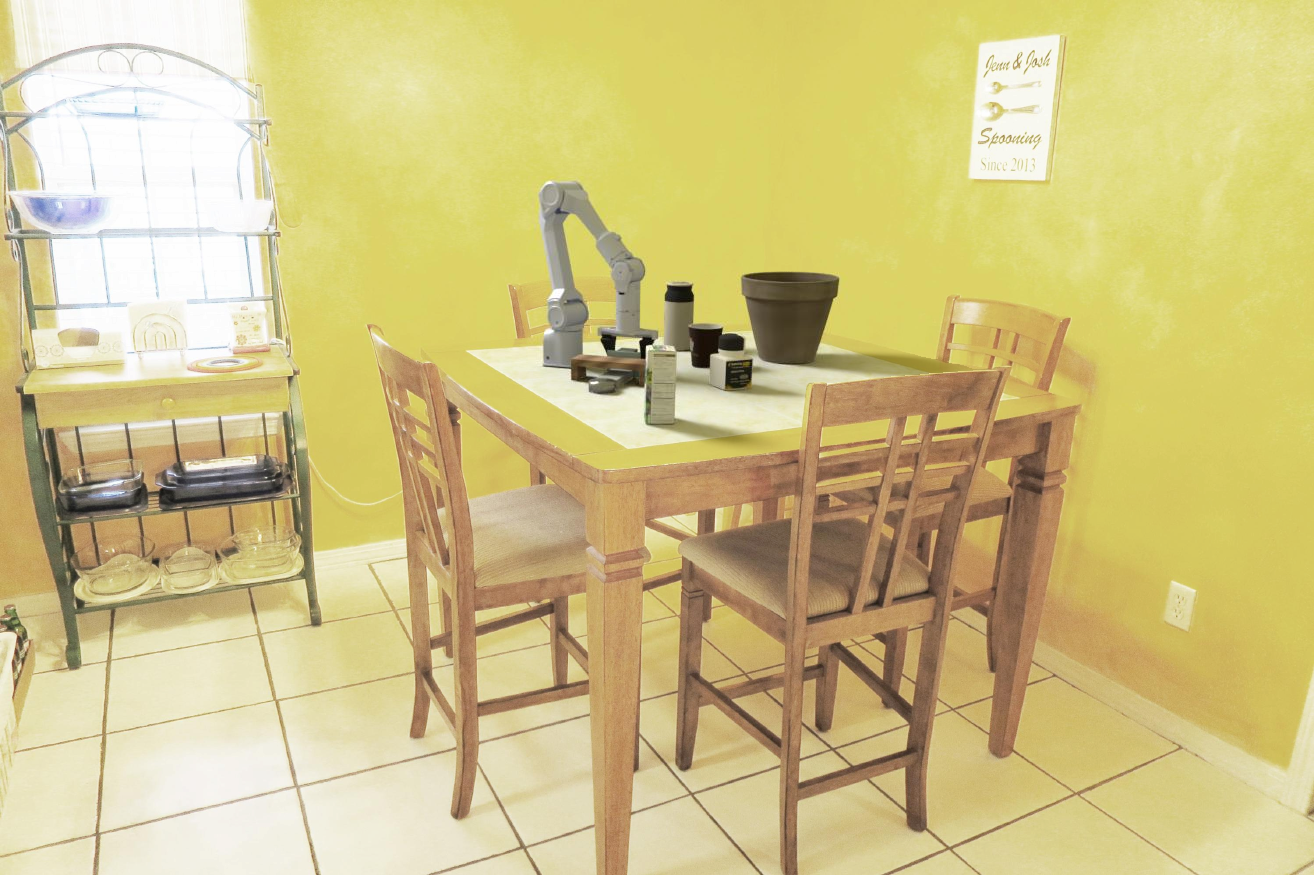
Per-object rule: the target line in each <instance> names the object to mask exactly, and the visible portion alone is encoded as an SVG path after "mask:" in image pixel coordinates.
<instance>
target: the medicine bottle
mask: <svg viewBox="0 0 1314 875" xmlns="http://www.w3.org/2000/svg"><path fill="white" fill-rule="evenodd" d="M746 341H747V340H746V336H745V335H743V334H741V333H735V332H732V333H731V332H727V333H722V335H720V336H719V346H718V352H719V354H711V355H710V368H709V382H708V383H709V385H710V386H713V387H715V388H718V389H721V390H722V391H726V392H727V391H728V392H729V391H736V390H737V391H738V390H746V389H751V388H752V381H753V365H754V364H753V363H754V358H753V357H752V356H749V355H747V354H745V353H746V343H747V342H746Z"/></svg>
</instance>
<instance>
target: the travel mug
mask: <svg viewBox="0 0 1314 875" xmlns="http://www.w3.org/2000/svg"><path fill="white" fill-rule="evenodd" d="M665 285H666V288H667V289H666V291H665V294H664V306H663V307H664V310H663V311H664V312H663V345H668V346H674V347H675V349H676V351H677V352H684V351H685V352H686V351H691V349H690V337H689V325H690V324H694V316H695V315H694V311H695V310H694V309H695V306H694V305H695V293H694V292H693V286H694V282H692V281H686V280H683V281H682V280H673V281H672V280H671V281H667V282H665Z"/></svg>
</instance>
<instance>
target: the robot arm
mask: <svg viewBox="0 0 1314 875" xmlns="http://www.w3.org/2000/svg"><path fill="white" fill-rule="evenodd" d="M537 194H538V201H539V206H540V207H539V214H538V222H539V226H540V227H539V228H540V232H541V238H542V243H543V248H544V253H545V260H546V264H547V269H548V275H549V279H550V284H551V290H552V292H551V294H550V296H549V297H548V298H547V300H546V302H547V303H546V304H547V311H546V319H547V323H548V324H549V326H550V327H551V328H549V327H548V328H546V329H545V331H544V333H543V336H542V337H543V338H542V354H543V355H542V359H543V360H542V361H543V362H542V364H541V365H542V366H547V367H559V368H570V369H571V359H572V358H574V357H576V356H578V355H580V354H584V347H583V345H584V340H583V339H584V338H583V337H584V332H583V331H584V328H585V324H586V323H587V321H588V319H589V316H590V315H589V314H590V312H589V308H588V306H587V304H586V303H585V301H584V296H583V294H582V293H581V292H580V291H579V290H578V289H577V287H576V286H575V281H574V276H573V271H572V265H571V260H570V254H569V249H568V245H567V238H566V233H565V227H564V222H566V219H567V218H568V216H570V215H575V216H576V217H577V218H578V219H579V220H580V222H581V223H582V224H583V226H585V228H586V229H587V230H588V232H590V234H591V235H592V236H593V238H594V239H595V240H596V241H595V242H596V243H595V248H596V249H597V251H598V252H599V254H600V255H601V257H602V258H603V259H604V261H605V262H606V263H607V265H608V266H609V267H610V269H611V270H610V277H611V279H612V281H613V283H614V290H615V326H599V327H597V336H599V337H601V338H599V339H600V343H601V344H602V347H603V349H604V351H605V353H606V355H607V351H608V350H615V351H616V345H617V344H616V342H617V338H618V337H620V338H631V339H632V338H634V339H640V340H638V345H639V352H641V359H646V346H649V345H654V343H655V341H656V340H658V339H659V330H656V329H648V328H642V327H640V326H641V282H642V281H643V279H644V278H645V276H646V266H645V264H644V262H643V260H642V259H641V258H639V257H636V256H634V254H633V253H632V251H629V249H628V248H627V246H626V245H625V244H624V243H623V241H622V239H623V238H622V236H621V235H620V234H619V233H618V234H617V233H616V232H615V231H610V230H608V228H607V227H606V225H605V224H604V222H603V220H602V219H601V217H600V216H599V214H598V212H597V210H596V209H595V208H594V206H593V205H592V203H591V200H589V193H588V191H586V190H585V189H584V187H583V185H582V183H580V182H578V181H577V180H570V181H556V180H548V181H546V182H545V183H544V184H543V186H542V187H541V189H540V190H539V192H538V193H537Z"/></svg>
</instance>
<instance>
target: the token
mask: <svg viewBox="0 0 1314 875" xmlns="http://www.w3.org/2000/svg"><path fill="white" fill-rule="evenodd" d="M588 392H589V393H590V394H595V395H608V394H609V395H610V394H614V393H616V392H617V389H616V380H614V379H608V378H597V377H595V378H592V379H589V380H588Z"/></svg>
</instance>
